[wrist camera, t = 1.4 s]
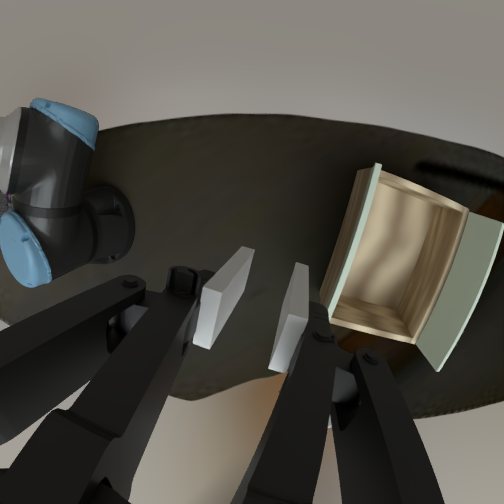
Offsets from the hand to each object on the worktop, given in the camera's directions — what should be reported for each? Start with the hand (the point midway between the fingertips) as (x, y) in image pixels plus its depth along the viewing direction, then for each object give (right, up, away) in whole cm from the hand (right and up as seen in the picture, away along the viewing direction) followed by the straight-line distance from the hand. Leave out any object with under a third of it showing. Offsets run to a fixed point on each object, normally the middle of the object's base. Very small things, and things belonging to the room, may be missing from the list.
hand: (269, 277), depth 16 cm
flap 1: (+9, +1, +11) cm, 15 cm away
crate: (+19, +2, +23) cm, 30 cm away
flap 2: (+24, -3, +9) cm, 26 cm away
